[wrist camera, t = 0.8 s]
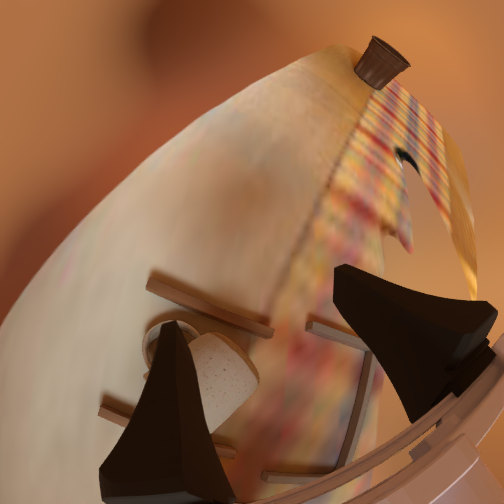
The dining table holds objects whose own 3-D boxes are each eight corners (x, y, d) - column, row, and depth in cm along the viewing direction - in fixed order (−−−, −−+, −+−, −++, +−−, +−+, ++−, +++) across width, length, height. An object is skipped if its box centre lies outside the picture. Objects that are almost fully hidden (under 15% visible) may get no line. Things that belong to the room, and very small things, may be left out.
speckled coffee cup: (248, 380, 27) (280, 385, 20) (192, 430, 23) (207, 453, 16) (183, 305, 28) (195, 286, 21) (122, 351, 23) (111, 348, 17)
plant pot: (365, 88, 69) (393, 55, 56) (340, 60, 74) (364, 29, 60) (391, 99, 77) (418, 71, 63) (368, 71, 81) (391, 45, 67)
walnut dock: (229, 454, 23) (234, 458, 21) (100, 412, 20) (97, 415, 19) (268, 330, 30) (274, 329, 28) (149, 281, 27) (149, 277, 26)
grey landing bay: (336, 479, 25) (343, 482, 23) (260, 477, 22) (266, 482, 21) (371, 346, 34) (379, 344, 33) (306, 322, 32) (313, 321, 30)
